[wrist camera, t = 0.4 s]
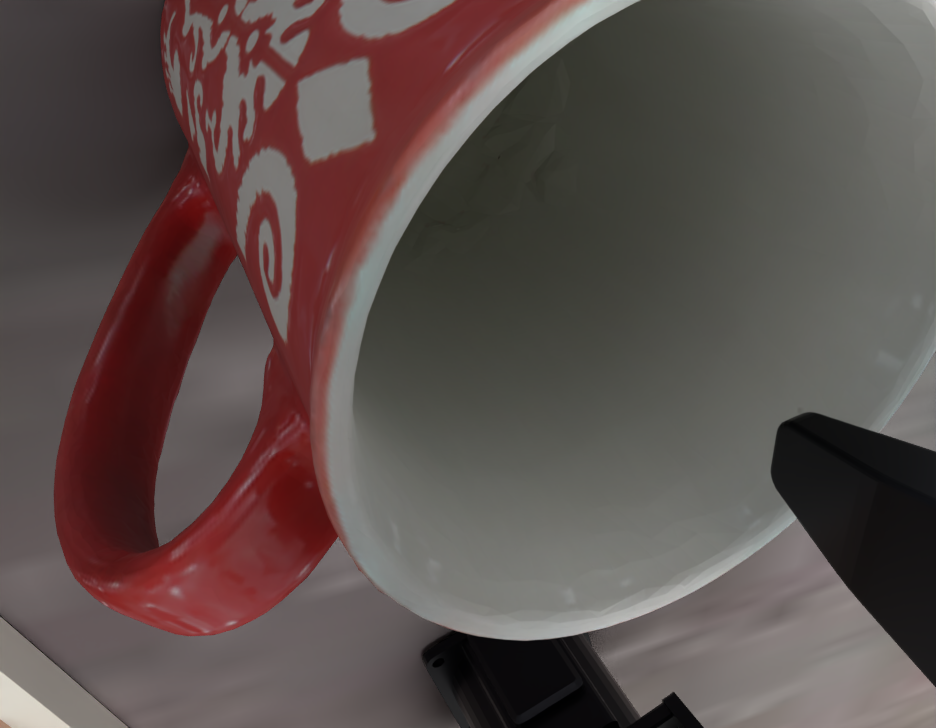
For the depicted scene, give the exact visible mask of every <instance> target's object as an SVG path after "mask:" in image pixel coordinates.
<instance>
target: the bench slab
mask: <svg viewBox="0 0 936 728" xmlns="http://www.w3.org/2000/svg"><path fill="white" fill-rule="evenodd" d="M0 719H1V720H2V721H3V722H5V723H6V724H7V725H9V726H10V727H11V728H128V727H127V726H126V725H125V724H124V723H123V722H121V721H120V720H119V719H118V718H117V717H116V716H114V715H113V714H112V713H111V712H110V711H109V710H108V709H106V708H105V707H104V706H103V705H102V704H101V703H99V702H98V701H97V700H96V699H95V698H94V697H93V696H91V695H90V694H89V693H88V692H87V691H86V690H84V689H83V688H82V687H81V686H80V685H79V684H78V683H76V682H75V681H74V680H73V679H72V678H71V677H69V676H68V675H67V674H66V673H65V672H64V671H63V670H61V669H60V668H59V667H58V666H57V665H56V664H54V663H53V662H52V661H51V660H50V659H49V658H48V657H46V656H45V655H44V654H43V653H42V652H41V651H39V650H38V649H37V648H36V647H35V646H34V645H33V644H31V643H30V642H29V641H28V640H27V639H26V638H24V637H23V636H22V635H21V634H20V633H19V632H18V631H16V630H15V629H14V628H13V627H12V626H11V625H10V624H8V623H7V622H6V621H5V620H4V619H3V618H1V617H0Z"/></svg>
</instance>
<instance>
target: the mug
mask: <svg viewBox="0 0 936 728" xmlns="http://www.w3.org/2000/svg"><path fill="white" fill-rule="evenodd" d="M160 35H161V58H162V67H163V74H164V80H165V84H166V88H167V92H168V96H169V99H170V101H171V104H172V107H173V110H174V113H175V116H176V118H177V120H178V122H179V124H180V126H181V128H182V130H183V133H184V135H185V137H186V139H187V141H188V145H189V147H188V150H187V153H186V155H185V158H184V161H183V163H182V166H181V169H180V171H179V173H178V175H177V176H176V178H175V180H174V181H173V183H172V186H171V188H170V190H169V192H168V194H167V195H166V197H165V199H164V200H163V202H162V204H161V206H160V207H159V209H158V210H157V212H156V213H155V215H154V217H153V218H152V220H151V222H150V224H149V225H148V227H147V228H146V230H145V232H144V234H143V236H142V238H141V240H140V242H139V244H138V246H137V247H136V249H135V251H134V253H133V255H132V257H131V259H130V261H129V264H128V266H127V268H126V270H125V272H124V274H123V276H122V278H121V280H120V282H119V284H118V287H117V289H116V291H115V293H114V295H113V297H112V299H111V302H110V304H109V306H108V308H107V310H106V312H105V315H104V317H103V319H102V321H101V323H100V326H99V328H98V331H97V333H96V335H95V338H94V340H93V343H92V345H91V348H90V350H89V352H88V355H87V357H86V360H85V362H84V365H83V367H82V370H81V372H80V374H79V377H78V379H77V382H76V385H75V388H74V391H73V394H72V398H71V401H70V405H69V409H68V412H67V416H66V419H65V423H64V428H63V432H62V436H61V441H60V446H59V450H58V455H57V460H56V469H55V482H54V512H55V522H56V528H57V534H58V537H59V540H60V544H61V547H62V550H63V553H64V556H65V559H66V562H67V564H68V566H69V568H70V570H71V572H72V573H73V575H74V577H75V579H76V580H77V581H78V582H79V583H80V584H81V585H82V586H83V587H84V588H85V589H86V590H87V591H88V592H89V593H90V594H91V595H92V596H93V597H94V598H95V599H97V600H98V601H99V602H101V603H102V604H104V605H105V606H107V607H109V608H111V609H113V610H115V611H117V612H119V613H121V614H123V615H125V616H128V617H130V618H133V619H135V620H138V621H140V622H143V623H145V624H148V625H150V626H153V627H156V628H159V629H162V630H165V631H168V632H171V633H174V634H178V635H185V636H203V635H215V634H219V633H222V632H226V631H229V630H233V629H235V628H238V627H240V626H242V625H244V624H246V623H248V622H250V621H252V620H254V619H256V618H258V617H259V616H261V615H263V614H265V613H266V612H268V611H269V610H270V609H271V608H273V607H274V606H275V605H277V604H278V603H279V602H281V601H282V600H283V599H284V598H285V597H286V596H287V595H288V594H289V593H291V592H292V591H293V590H294V589H295V588H296V587H297V586H298V585H299V584H300V583H302V582H303V581H304V580H305V579H306V578H307V577H308V576H309V574H310V573H311V572H312V571H313V569H314V568H315V567H316V566H317V564H318V563H319V562H320V560H321V559H322V558H323V556H324V555H325V554H326V552H327V551H328V550H329V548H330V547H331V546H332V544H333V543H334V542H335V540H336V539H337V537H338V536H339V538H340V540H341V541H342V543H343V545H344V546H345V548H346V550H347V551H348V553H349V555H350V556H351V557H352V559H353V560H354V562H355V564H356V566H357V567H358V569H359V570H360V571H361V572H362V573H363V574H364V575H365V576H366V577H367V578H368V579H369V580H370V581H371V583H372V584H373V585H374V586H375V587H376V588H377V589H378V590H379V591H380V592H381V593H383V594H385V595H387V596H389V597H390V598H392V599H393V600H394V601H395V602H397V603H398V604H399V605H401V606H403V607H404V608H406V609H408V610H409V611H411V612H413V613H415V614H416V615H418V616H420V617H421V618H423V619H426V620H428V621H431V622H433V623H436V624H438V625H441V626H443V627H446V628H449V629H452V630H455V631H458V632H461V633H465V634H470V635H475V636H480V637H487V638H495V639H504V640H520V641H529V640H544V639H554V638H560V637H567V636H573V635H578V634H582V633H586V632H590V631H594V630H598V629H603V628H607V627H610V626H613V625H616V624H619V623H622V622H625V621H628V620H631V619H634V618H637V617H640V616H642V615H645V614H647V613H650V612H652V611H654V610H657V609H659V608H661V607H663V606H665V605H668V604H670V603H672V602H674V601H676V600H678V599H680V598H682V597H684V596H686V595H688V594H690V593H692V592H694V591H696V590H697V589H699V588H701V587H702V586H704V585H706V584H708V583H709V582H711V581H713V580H714V579H716V578H718V577H720V576H721V575H723V574H725V573H726V572H728V571H729V570H730V569H732V568H733V567H735V566H736V565H738V564H739V563H741V562H742V561H744V560H745V559H747V558H748V557H750V556H751V555H753V554H754V553H755V552H757V551H758V550H759V549H761V548H762V547H763V546H764V545H766V544H767V543H768V542H770V541H771V540H772V539H774V538H775V537H776V536H777V535H779V534H780V533H781V532H782V531H783V530H784V529H786V528H787V527H788V526H789V525H790V524H791V523H793V522H794V521H795V520H796V519H797V518H796V516H795V515H794V513H793V512H792V511H791V509H790V508H789V507H788V505H787V504H786V502H785V501H784V500H783V498H782V497H781V495H780V494H779V493H778V491H777V490H776V488H775V486H774V484H773V481H772V478H771V472H770V470H771V463H772V457H773V451H774V445H775V439H776V432H777V429H778V427H779V425H780V424H781V423H782V422H784V421H786V420H788V419H790V418H793V417H795V416H797V415H800V414H802V413H806V412H815V413H819V414H822V415H825V416H828V417H831V418H834V419H837V420H840V421H844V422H847V423H850V424H853V425H856V426H859V427H862V428H865V429H868V430H871V431H874V432H877V433H880V432H881V431H882V429H883V428H884V427H885V425H886V424H887V423H888V421H889V420H890V419H891V417H892V416H893V415H894V413H895V412H896V411H897V409H898V408H899V407H900V405H901V404H902V402H903V401H904V399H905V398H906V396H907V395H908V394H909V392H910V391H911V389H912V388H913V386H914V385H915V383H916V382H917V380H918V379H919V377H920V376H921V374H922V373H923V371H924V370H925V368H926V366H927V365H928V363H929V361H930V360H931V358H932V356H933V354H934V353H935V351H936V0H165V3H164V8H163V12H162V18H161V31H160ZM237 255H238V257H239V259H240V261H241V263H242V266H243V268H244V270H245V273H246V275H247V277H248V280H249V282H250V284H251V287H252V289H253V291H254V294H255V296H256V298H257V301H258V303H259V306H260V308H261V310H262V313H263V315H264V317H265V320H266V322H267V324H268V327H269V329H270V331H271V334H272V336H273V338H274V345H273V348H272V350H271V352H270V354H269V356H268V358H267V361H266V365H265V373H264V389H263V399H262V407H261V411H260V415H259V419H258V423H257V426H256V428H255V430H254V433H253V435H252V438H251V440H250V442H249V445H248V447H247V449H246V451H245V453H244V455H243V457H242V459H241V461H240V463H239V464H238V466H237V467H236V469H235V471H234V472H233V474H232V476H231V477H230V479H229V480H228V482H227V483H226V485H225V486H224V487H223V489H222V490H221V491H220V493H219V494H218V496H217V497H216V498H215V500H214V501H213V502H212V503H211V504H210V506H209V507H208V508H207V509H206V510H205V511H204V512H203V513H202V514H201V515H200V516H199V517H198V518H197V519H196V520H195V521H194V522H193V523H192V524H191V525H190V526H189V527H187V528H186V529H185V530H184V531H182V532H181V533H180V534H179V535H178V536H176V537H175V538H174V539H173V540H172V541H170V542H169V543H167V544H165V545H162V546H160V547H159V543H158V538H157V534H156V527H155V518H154V494H155V482H156V475H157V470H158V462H159V459H160V455H161V452H162V448H163V443H164V439H165V435H166V431H167V428H168V425H169V421H170V416H171V413H172V409H173V405H174V402H175V400H176V397H177V395H178V393H179V390H180V386H181V383H182V379H183V376H184V373H185V370H186V367H187V364H188V361H189V358H190V355H191V353H192V350H193V348H194V346H195V343H196V341H197V338H198V335H199V333H200V330H201V327H202V324H203V321H204V319H205V316H206V313H207V311H208V309H209V307H210V305H211V302H212V299H213V297H214V295H215V293H216V291H217V289H218V287H219V285H220V283H221V281H222V279H223V277H224V275H225V273H226V272H227V270H228V268H229V266H230V264H231V263H232V262H233V260H234V259H235V258H236V256H237Z"/></svg>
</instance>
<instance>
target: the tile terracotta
mask: <svg viewBox="0 0 936 728" xmlns="http://www.w3.org/2000/svg"><path fill="white" fill-rule="evenodd" d="M0 728H11V727H10V726H9V725H7V724H6V723H5V722H3V721H2V720H1V719H0Z"/></svg>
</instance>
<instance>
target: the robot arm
mask: <svg viewBox="0 0 936 728" xmlns="http://www.w3.org/2000/svg"><path fill="white" fill-rule="evenodd" d="M770 472H771V478H772V481H773V484H774V486H775V488H776V490H777V491H778V493H779V494H780V495H781V497H782V498H783V500H784V501H785V502H786V504H787V505H788V507H789V508H790V509H791V511H792V512H793V513H794V515H795V516H796V518H797V519H798V520H799V522H800V523H801V524H802V526H803V527H804V529H805V530H806V531H807V533H808V534H809V536H810V537H811V538H812V540H813V541H814V542H815V544H816V545H817V547H818V548H819V549H820V551H821V552H822V553H823V555H824V556H825V558H826V559H827V560H828V562H829V563H830V565H831V566H832V567H833V569H834V570H835V571H836V573H837V574H838V575H839V577H840V578H841V579H842V581H843V582H844V583H845V584H846V586H847V587H848V588H849V590H850V591H851V592H852V593H853V594H854V595H855V597H856V598H857V599H858V600H859V601H860V603H861V604H862V605H863V606H864V607H865V608H866V609H867V611H868V612H869V613H870V614H871V615H872V616H873V617H874V618H875V620H876V621H877V622H878V623H879V624H880V625H881V626H882V627H883V629H884V630H885V631H886V632H887V633H888V634H889V635H890V636H891V638H892V639H893V640H894V641H895V642H896V643H897V644H898V645H899V647H900V648H901V649H902V650H903V651H904V652H905V653H906V654H907V656H908V657H909V658H910V659H911V660H912V661H913V662H914V663H915V665H916V666H917V667H918V668H919V669H920V670H921V671H922V672H923V674H924V675H925V676H926V677H927V678H928V679H929V680H930V681H931V683H932V684H933V685H934V686H935V687H936V452H935V451H932V450H929V449H926V448H923V447H920V446H917V445H914V444H911V443H908V442H905V441H902V440H899V439H896V438H892V437H889V436H886V435H883V434H880V433H877V432H874V431H871V430H868V429H865V428H862V427H859V426H856V425H853V424H850V423H847V422H844V421H840V420H837V419H834V418H831V417H828V416H825V415H822V414H819V413H815V412H806V413H802V414H800V415H797V416H795V417H793V418H790V419H788V420H786V421H784V422H782V423H781V424H780V425H779V427H778V429H777V432H776V439H775V445H774V451H773V457H772V463H771V470H770ZM422 660H423V663H424V665H425V667H426V669H427V671H428V672H429V674H430V676H431V678H432V679H433V681H434V683H435V684H436V686H437V688H438V690H439V691H440V693H441V695H442V696H443V698H444V700H445V702H446V703H447V705H448V707H449V708H450V710H451V712H452V714H453V715H454V717H455V719H456V720H457V722H458V724H459V726H460V727H461V728H704V727H703V726H702V725H701V724H700V723H699V721H698V720H697V719H696V718H695V717H694V715H693V714H692V713H691V712H690V711H689V709H688V708H687V707H686V706H685V705H684V703H683V702H682V701H681V700H680V699H679V697H678V696H677V695H676V694H675V693H674V692H673V693H671V694H670V695H668V696H667V697H665V698H664V699H663V700H662V702H663V703H661V704H660V705H658V706H657V707H656V708H654V709H653V710H651V711H650V712H648V713H647V714H645V715H644V716H643V717H640V715H639V714H638V712H637V711H636V710H635V708H634V707H633V705H632V704H631V702H630V701H629V699H628V698H627V697H626V695H625V694H624V692H623V691H622V689H621V688H620V686H619V685H618V684H617V682H616V681H615V679H614V678H613V676H612V675H611V674H610V672H609V671H608V669H607V668H606V666H605V665H604V663H603V662H602V661H601V659H600V658H599V656H598V655H597V653H596V652H595V651H594V649H593V648H592V645H591V642H590V639H589V635H588V632H586V633H582V634H578V635H573V636H567V637H560V638H554V639H544V640H529V641H520V640H504V639H495V638H487V637H480V636H475V635H470V634H465V633H461V632H457V633H456V634H454V635H452V636H451V637H449V638H447V639H446V640H444V641H442V642H441V643H439V644H437V645H436V646H434V647H432V648H431V649H429V650H428V651H427V652H426V653H425V654H424V656H423V658H422Z"/></svg>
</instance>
